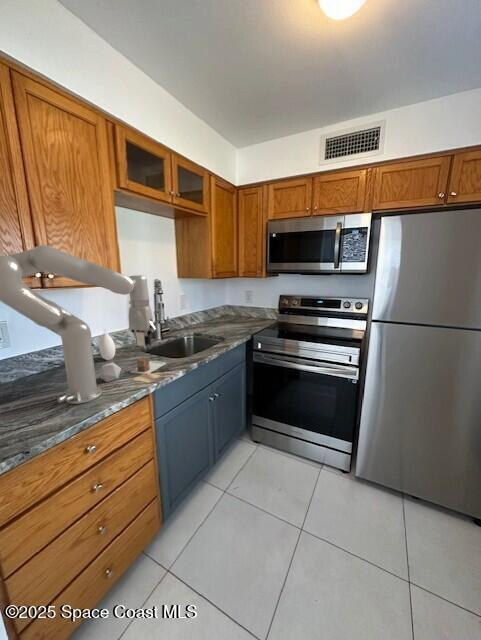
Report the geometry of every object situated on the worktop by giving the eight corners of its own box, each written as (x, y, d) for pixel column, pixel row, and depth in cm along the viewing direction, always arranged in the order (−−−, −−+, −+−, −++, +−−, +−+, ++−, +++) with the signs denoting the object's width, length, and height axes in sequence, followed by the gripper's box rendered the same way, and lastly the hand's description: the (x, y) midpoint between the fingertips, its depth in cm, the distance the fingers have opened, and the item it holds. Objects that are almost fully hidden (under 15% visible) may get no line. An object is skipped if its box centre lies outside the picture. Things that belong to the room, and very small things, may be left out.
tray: (147, 375, 126) (147, 373, 126) (130, 373, 130) (130, 371, 129) (166, 364, 141) (166, 362, 141) (150, 362, 144) (150, 360, 144)
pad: (148, 383, 117) (148, 382, 117) (132, 381, 120) (131, 380, 120) (160, 375, 126) (160, 374, 126) (144, 373, 129) (144, 372, 128)
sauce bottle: (118, 359, 150) (115, 328, 147) (104, 363, 144) (100, 331, 141) (112, 356, 155) (109, 326, 152) (98, 360, 149) (94, 329, 146)
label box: (144, 345, 117) (143, 332, 116) (137, 345, 119) (135, 331, 117) (150, 343, 121) (149, 330, 120) (142, 342, 122) (141, 329, 121)
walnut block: (144, 372, 129) (143, 360, 128) (137, 371, 130) (136, 359, 129) (149, 369, 133) (148, 358, 132) (143, 368, 134) (142, 357, 133)
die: (121, 383, 120) (125, 362, 124) (102, 379, 114) (107, 358, 118) (112, 385, 125) (117, 365, 129) (93, 382, 119) (99, 361, 123)
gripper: (118, 304, 115) (122, 345, 119) (150, 305, 110) (154, 347, 114) (130, 302, 122) (134, 340, 126) (161, 303, 117) (164, 343, 121)
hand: (143, 343), depth 120 cm, fingers closed on label box, 4 cm apart
